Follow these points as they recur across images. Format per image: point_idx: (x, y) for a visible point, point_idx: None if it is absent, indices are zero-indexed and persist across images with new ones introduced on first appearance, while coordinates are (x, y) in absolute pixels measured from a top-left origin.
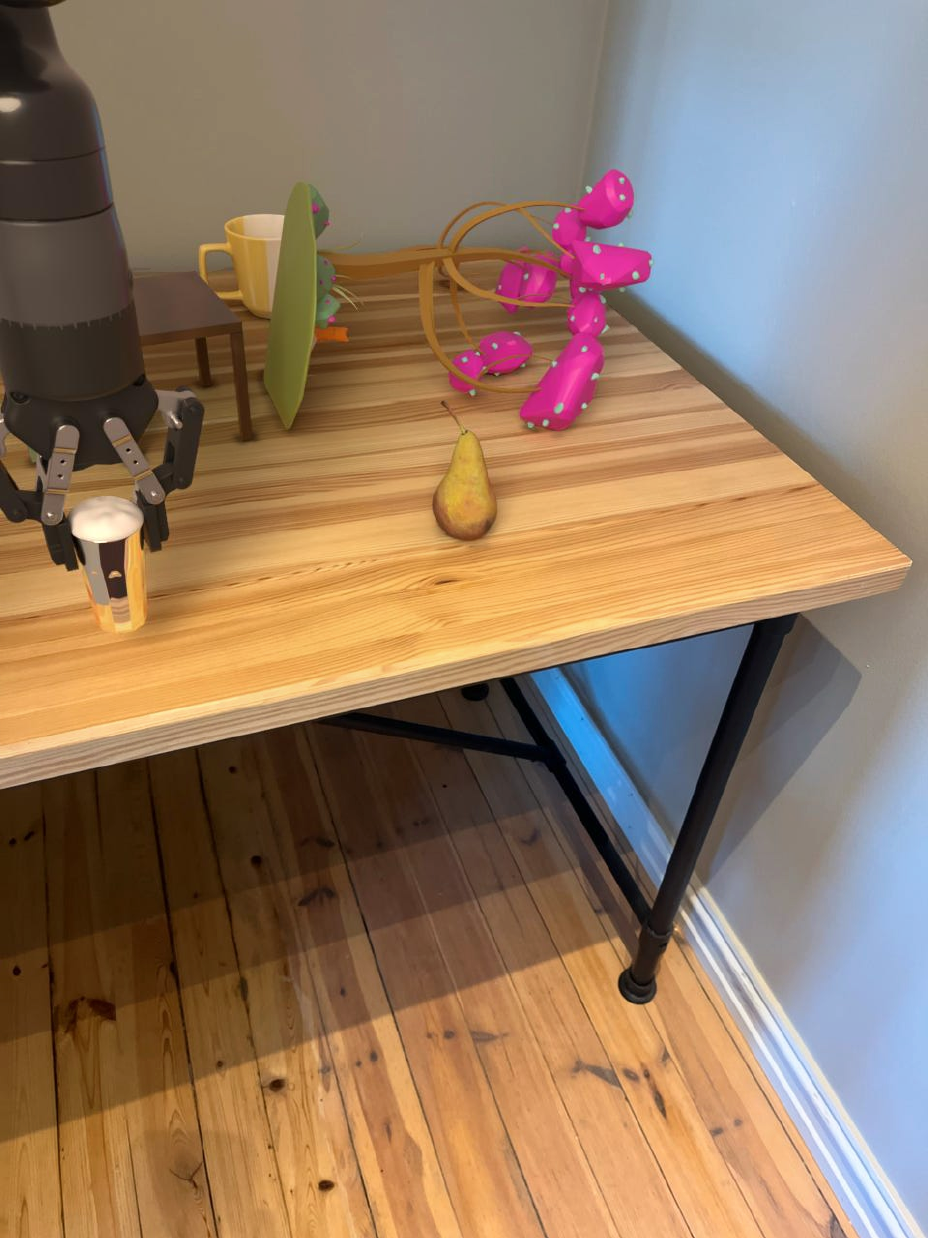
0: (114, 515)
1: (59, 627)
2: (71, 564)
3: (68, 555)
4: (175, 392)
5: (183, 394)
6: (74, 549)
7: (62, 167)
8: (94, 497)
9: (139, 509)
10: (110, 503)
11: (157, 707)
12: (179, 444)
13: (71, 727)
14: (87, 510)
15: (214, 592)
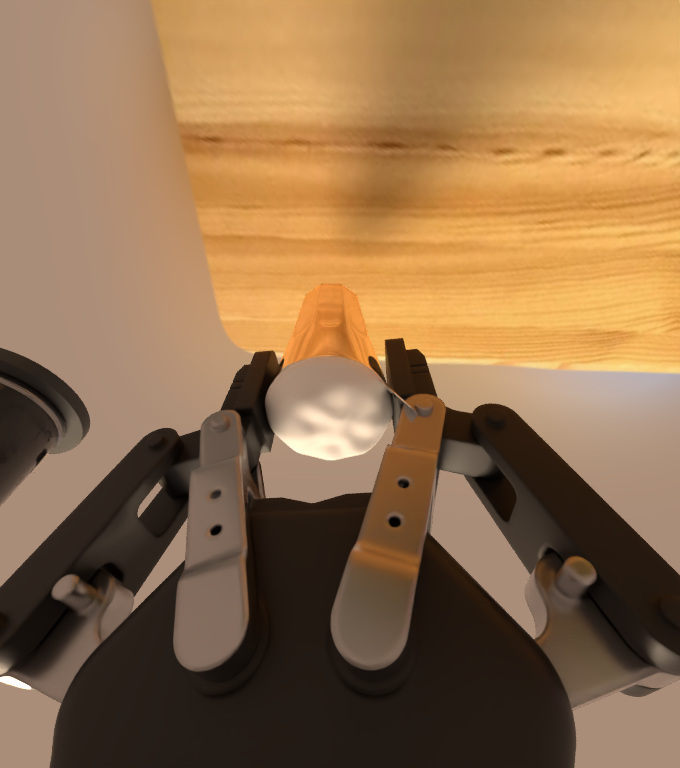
0: (343, 454)
1: (250, 180)
2: None
3: None
4: (635, 682)
5: (652, 677)
6: None
7: None
8: (314, 400)
9: (388, 418)
10: (341, 429)
11: None
12: (519, 556)
13: (275, 348)
14: (300, 438)
15: (468, 165)
